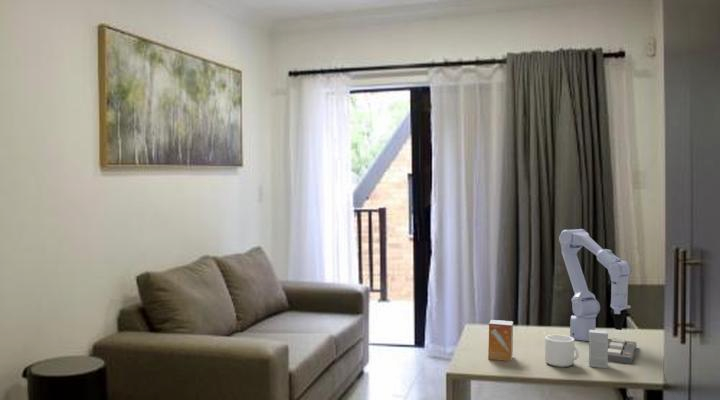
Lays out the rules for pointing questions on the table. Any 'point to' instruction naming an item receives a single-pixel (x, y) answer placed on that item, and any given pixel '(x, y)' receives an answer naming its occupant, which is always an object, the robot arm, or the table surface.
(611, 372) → the table surface
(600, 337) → the skincare box
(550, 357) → the mug
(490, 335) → the small box
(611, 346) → the key middle
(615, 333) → the table surface
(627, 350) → the keypad frame
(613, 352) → the key outer
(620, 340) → the key inner
